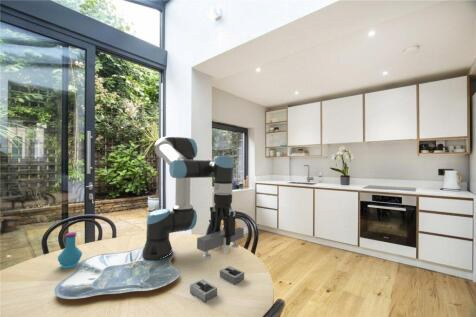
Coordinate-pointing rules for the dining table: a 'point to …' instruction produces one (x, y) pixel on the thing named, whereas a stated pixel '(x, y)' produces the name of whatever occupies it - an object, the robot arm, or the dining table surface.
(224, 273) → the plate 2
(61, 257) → the perfume bottle
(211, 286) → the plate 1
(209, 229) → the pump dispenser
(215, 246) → the grey rectangular bar
